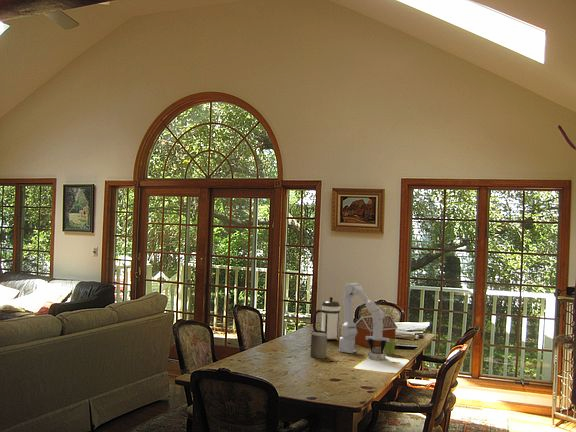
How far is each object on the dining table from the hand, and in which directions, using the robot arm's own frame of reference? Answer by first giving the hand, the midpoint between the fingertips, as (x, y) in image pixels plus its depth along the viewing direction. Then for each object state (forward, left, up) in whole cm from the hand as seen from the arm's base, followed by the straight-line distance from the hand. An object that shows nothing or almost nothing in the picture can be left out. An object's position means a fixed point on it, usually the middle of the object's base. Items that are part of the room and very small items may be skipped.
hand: (376, 352), depth 368 cm
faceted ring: (0, 0, -3) cm, 3 cm away
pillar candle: (-32, -16, -4) cm, 36 cm away
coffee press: (-46, +37, -4) cm, 59 cm away
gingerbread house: (-13, +41, -4) cm, 43 cm away
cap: (0, 0, -2) cm, 2 cm away
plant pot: (+3, +16, -4) cm, 17 cm away
